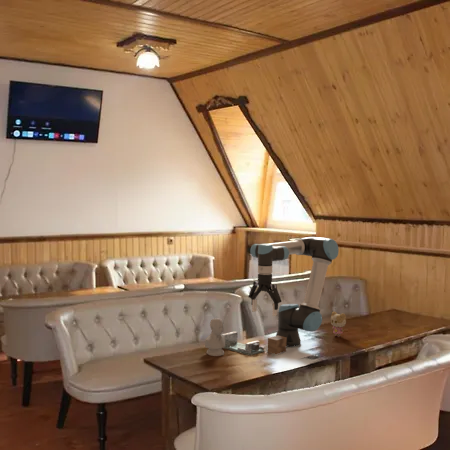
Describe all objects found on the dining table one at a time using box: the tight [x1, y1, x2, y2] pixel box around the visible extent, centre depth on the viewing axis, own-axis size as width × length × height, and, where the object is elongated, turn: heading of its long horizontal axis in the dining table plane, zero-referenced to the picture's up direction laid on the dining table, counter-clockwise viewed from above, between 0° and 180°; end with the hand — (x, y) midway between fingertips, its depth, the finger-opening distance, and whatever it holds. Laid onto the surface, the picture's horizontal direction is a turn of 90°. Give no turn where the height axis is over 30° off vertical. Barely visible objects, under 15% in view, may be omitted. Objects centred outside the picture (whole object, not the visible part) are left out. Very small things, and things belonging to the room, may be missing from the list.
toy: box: [330, 311, 347, 338], centre depth 364 cm, size 10×8×15 cm
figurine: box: [204, 317, 225, 357], centre depth 317 cm, size 9×13×20 cm
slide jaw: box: [244, 340, 261, 351], centre depth 322 cm, size 10×4×4 cm, turn 137°
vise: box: [221, 331, 265, 356], centre depth 328 cm, size 12×22×7 cm, turn 47°
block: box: [267, 335, 287, 355], centre depth 325 cm, size 9×6×8 cm, turn 137°
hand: (264, 313), depth 309 cm, fingers open, 13 cm apart
